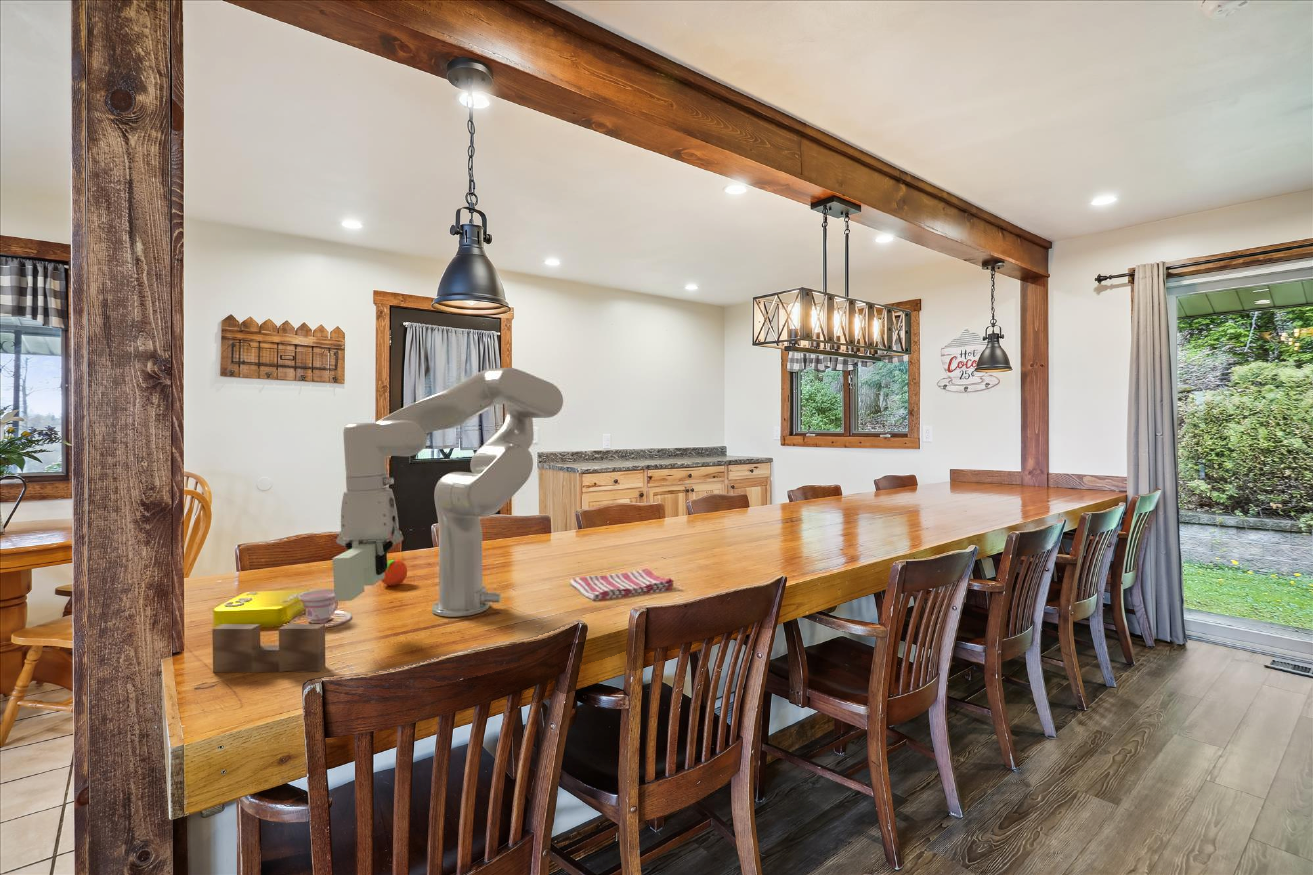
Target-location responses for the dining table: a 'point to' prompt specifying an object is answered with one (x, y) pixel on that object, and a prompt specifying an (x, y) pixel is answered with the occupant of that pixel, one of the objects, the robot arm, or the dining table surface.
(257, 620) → the element tile
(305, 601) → the teacup
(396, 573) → the clementine
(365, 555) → the sage cross-piece
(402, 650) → the dining table surface
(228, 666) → the walnut upright plate
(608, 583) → the dish towel
